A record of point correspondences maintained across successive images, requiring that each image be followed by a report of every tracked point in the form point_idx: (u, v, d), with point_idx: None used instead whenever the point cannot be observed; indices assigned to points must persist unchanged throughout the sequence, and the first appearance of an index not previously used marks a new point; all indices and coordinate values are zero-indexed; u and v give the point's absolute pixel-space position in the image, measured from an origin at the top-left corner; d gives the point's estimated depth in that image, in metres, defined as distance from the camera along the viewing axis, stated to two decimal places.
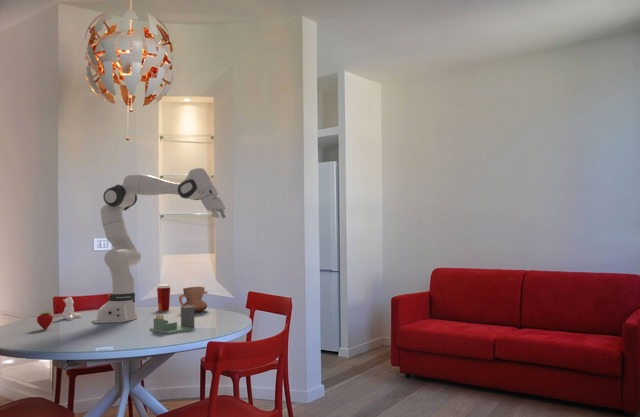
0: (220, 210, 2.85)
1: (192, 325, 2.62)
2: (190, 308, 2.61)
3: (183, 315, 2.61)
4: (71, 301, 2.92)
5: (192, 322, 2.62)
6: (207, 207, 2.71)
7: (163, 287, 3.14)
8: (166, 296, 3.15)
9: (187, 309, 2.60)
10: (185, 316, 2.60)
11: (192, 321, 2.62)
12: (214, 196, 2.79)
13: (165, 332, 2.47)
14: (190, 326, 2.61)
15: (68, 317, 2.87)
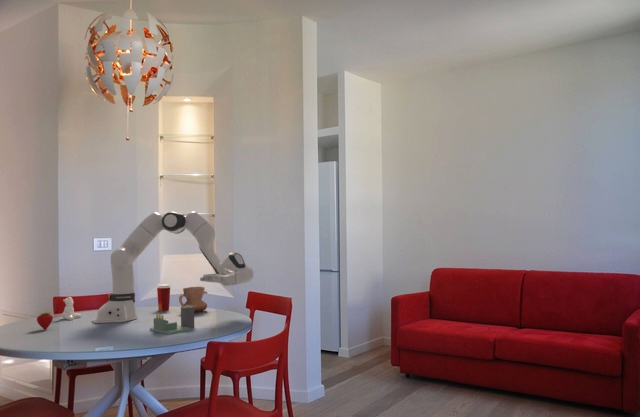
0: (207, 278, 2.79)
1: (192, 325, 2.62)
2: (190, 308, 2.61)
3: (183, 315, 2.61)
4: (71, 301, 2.92)
5: (192, 322, 2.62)
6: (228, 278, 2.70)
7: (163, 287, 3.14)
8: (166, 296, 3.15)
9: (187, 309, 2.60)
10: (185, 316, 2.60)
11: (192, 321, 2.62)
12: (225, 283, 2.79)
13: (165, 332, 2.47)
14: (190, 326, 2.61)
15: (68, 317, 2.87)
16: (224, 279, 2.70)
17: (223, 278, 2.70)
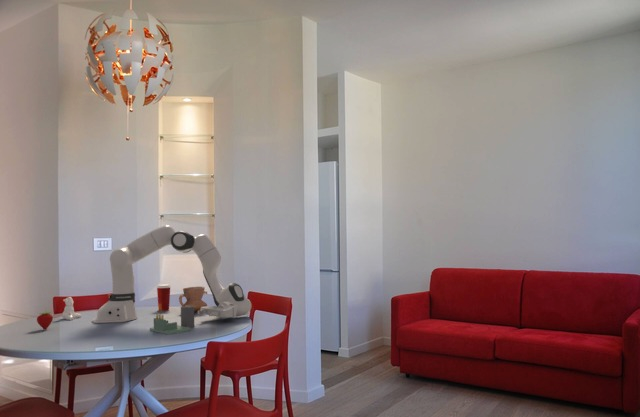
0: (205, 311, 2.77)
1: (192, 325, 2.62)
2: (190, 308, 2.61)
3: (183, 315, 2.61)
4: (71, 301, 2.92)
5: (192, 322, 2.62)
6: (226, 312, 2.68)
7: (163, 287, 3.14)
8: (166, 296, 3.15)
9: (187, 309, 2.60)
10: (185, 316, 2.60)
11: (192, 321, 2.62)
12: None
13: (165, 332, 2.47)
14: (190, 326, 2.61)
15: (68, 317, 2.87)
16: (222, 313, 2.68)
17: (221, 312, 2.69)
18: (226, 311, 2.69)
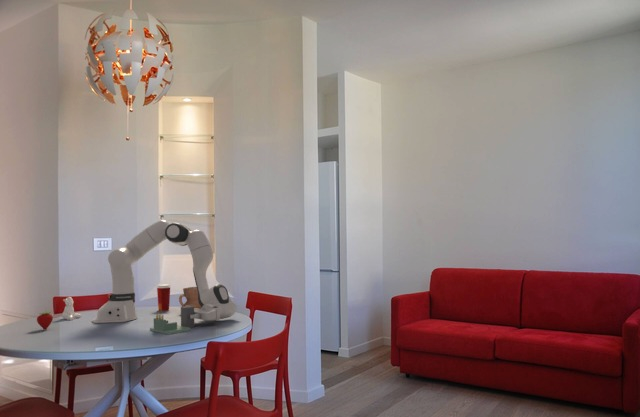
0: None
1: (192, 325, 2.62)
2: (190, 308, 2.61)
3: (183, 315, 2.61)
4: (71, 301, 2.92)
5: (192, 322, 2.62)
6: (208, 315, 2.60)
7: (163, 287, 3.14)
8: (166, 296, 3.15)
9: (187, 309, 2.60)
10: (185, 316, 2.60)
11: (192, 321, 2.62)
12: None
13: (165, 332, 2.47)
14: (190, 326, 2.61)
15: (68, 317, 2.87)
16: (204, 316, 2.60)
17: (203, 315, 2.60)
18: (209, 314, 2.60)
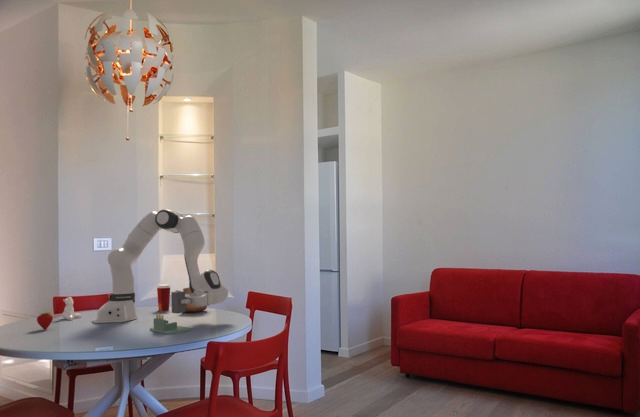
0: None
1: (183, 310, 2.58)
2: (181, 293, 2.57)
3: (174, 300, 2.57)
4: (71, 301, 2.92)
5: (183, 307, 2.58)
6: (199, 299, 2.56)
7: (163, 287, 3.14)
8: (166, 296, 3.15)
9: (178, 294, 2.56)
10: (176, 301, 2.56)
11: (183, 306, 2.58)
12: None
13: (165, 332, 2.47)
14: (181, 311, 2.57)
15: (68, 317, 2.87)
16: (195, 300, 2.56)
17: (194, 299, 2.56)
18: (200, 298, 2.56)
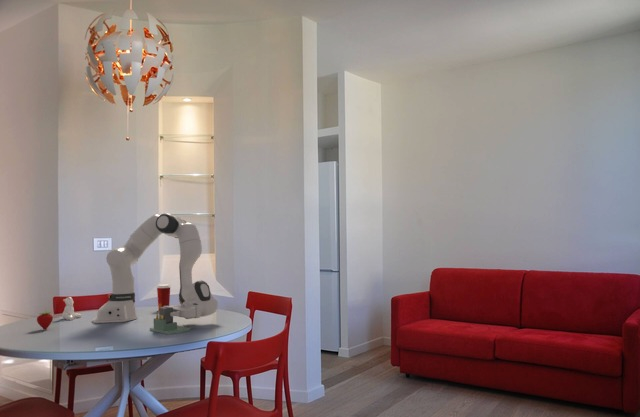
0: None
1: None
2: (169, 309, 2.52)
3: None
4: (71, 301, 2.92)
5: None
6: (187, 312, 2.51)
7: (163, 287, 3.14)
8: (166, 296, 3.15)
9: (165, 310, 2.51)
10: (164, 317, 2.51)
11: (171, 322, 2.53)
12: None
13: (165, 332, 2.47)
14: None
15: (68, 317, 2.87)
16: (183, 313, 2.51)
17: (182, 312, 2.51)
18: (188, 311, 2.51)
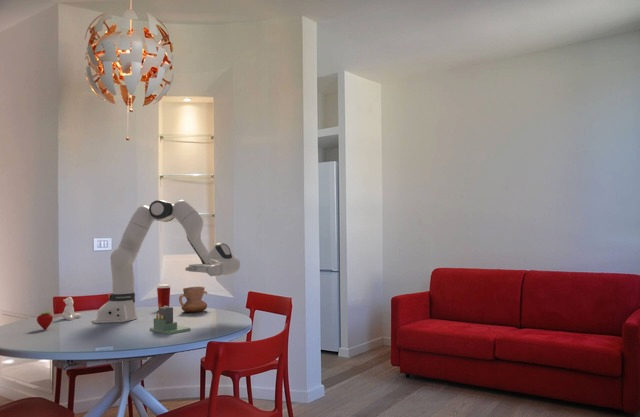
0: (193, 268, 2.75)
1: None
2: (169, 309, 2.52)
3: None
4: (71, 301, 2.92)
5: None
6: (213, 268, 2.67)
7: (163, 287, 3.14)
8: (166, 296, 3.15)
9: (165, 310, 2.51)
10: (164, 317, 2.51)
11: (171, 322, 2.53)
12: (211, 273, 2.76)
13: (165, 332, 2.47)
14: None
15: (68, 317, 2.87)
16: (209, 269, 2.66)
17: (208, 268, 2.67)
18: (214, 267, 2.67)
